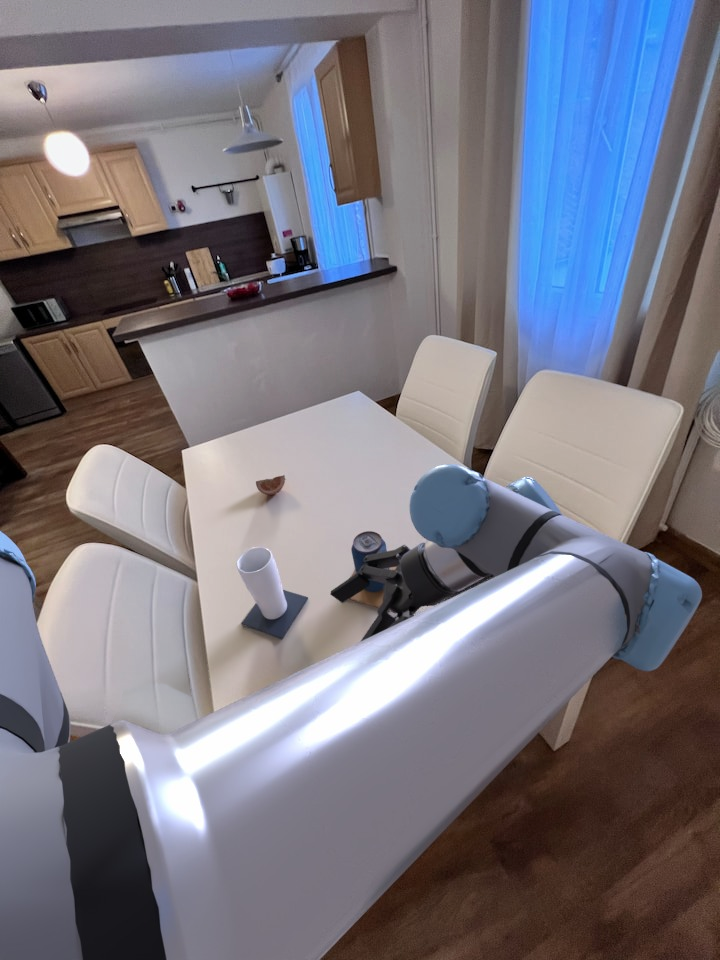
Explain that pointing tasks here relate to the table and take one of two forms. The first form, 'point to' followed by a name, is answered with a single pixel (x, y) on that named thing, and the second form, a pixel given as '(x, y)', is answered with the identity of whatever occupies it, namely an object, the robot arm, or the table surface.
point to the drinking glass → (263, 581)
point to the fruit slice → (271, 485)
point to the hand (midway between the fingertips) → (330, 632)
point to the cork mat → (370, 596)
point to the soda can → (368, 553)
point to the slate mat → (280, 624)
